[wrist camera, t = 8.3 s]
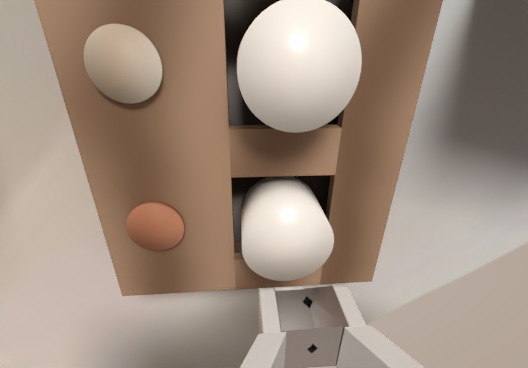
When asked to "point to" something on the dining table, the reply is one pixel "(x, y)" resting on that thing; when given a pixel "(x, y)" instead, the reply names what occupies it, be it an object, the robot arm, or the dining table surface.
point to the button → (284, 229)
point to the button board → (223, 137)
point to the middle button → (299, 64)
